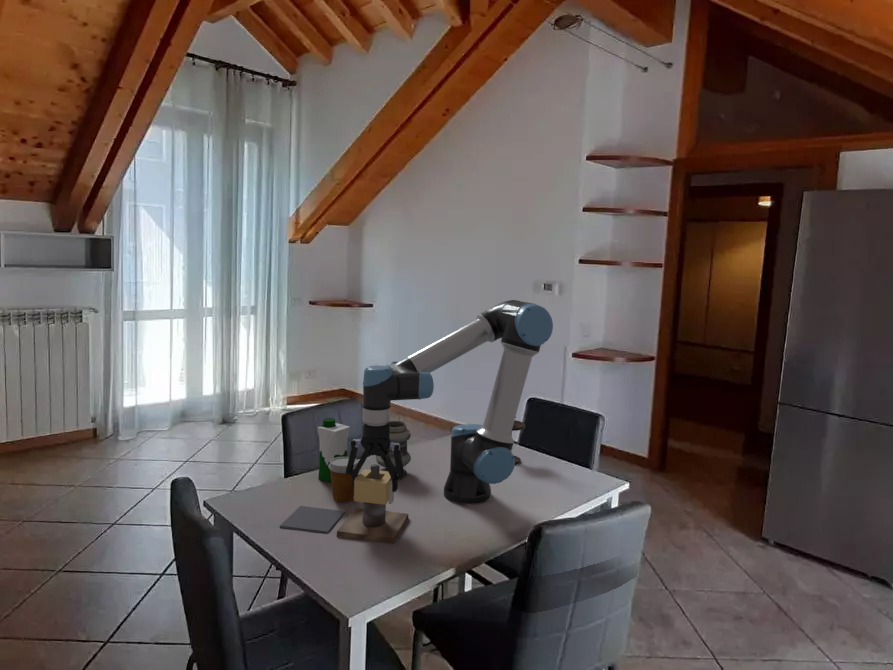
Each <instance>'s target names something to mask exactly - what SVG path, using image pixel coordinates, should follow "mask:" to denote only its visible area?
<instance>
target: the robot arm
mask: <svg viewBox="0 0 893 670" xmlns="http://www.w3.org/2000/svg"><path fill="white" fill-rule="evenodd" d="M553 322H554V321H553V319H552V316H551V314H550V312H549V311H548V310H547V309H546V308H545V307H544V306H541V305H539V304H537V303H533V302H527V301H521V300H517V299H510V300H506V301H505V300H504V301H503V302H500V303H498V304H496V305H494V306H492V307H490V308H488V309H486V310H485V311H482V312H480V313H478V314H477V315H476V318H475V320H473V321H471V322H469V323H468V324H465V325H464V326H462V327H460V328H459V329H457V330H455V331H453V332H451V333H449V334H448V335H446V336H444V337H442V338H440V339H439V340H436V341H435V342H433V343H430V344H429V345H427V346H425V347H424V348H422V349H420V350H418V351H416V352H414V353H413V354H411V355H408V356H407V357H405V358H403V359H401V360H399V361H389V362H388V363H386V364H385V365H377V364H376V365H369V366H367V367H365V368H364V372H363V380H362V381H363V382H362V393H363V394H362V401H363V404H362V425H361V426H362V430H361V431H362V433H361V434H362V435H361V436H362V437H361V439H358V438H355V437H354V438H353V439H352V440H351V441H350V452H349V453H350V454H349V456H348V457H349V460H348V464H347V468H346V474H350V475H351V476H352V487H354V480H355V479H356V478H357V477H358V476H359V475H360V474H359V473H360V471H361V469H362V467H363V466H364V464H365V462H366V460H367V459H368V457H369V456H375V457H376V456H381V459H382V460H383V461H384V463H385V466H386V467H385V468H387V470H388V472H389V474H390V476H391V480H390V481H389V501H388V505H392V503H393V502H394V501H395V493H396V492H397V490H398V488H399V487H398V486H399V485H398V484H399V480H403V478H404V477H406V476H405V473H404V470H405V468H404V467H403V463H402V458H401V453H400V447H401V444H400V443H399V442H398V443H392V442H391V441H390V423H389V421H391V402H392V401H406V400H419V401H420V400H426V399H429V398H431V397H432V395H433V393H434V388H435V387H434V386H435V382H434V379H433V375H432V373H433V372H434V371H436V370H438V369H440V368H441V367H443V366H445V365H447V364H450V362H453V361H455V360H456V359H458V358H460V357H461V356H463V355H465V354H467V353H470V352H471V351H472V350H474V349H476V348H478V347H479V346H482V345H483V344H485V343H487V342H490V343H493V342H496V341H497V340H500V339H501V340H500V344H501V346H502V348H503V352H502V355H501V360H500V363H499V367H498V370H497V373H496V377H495V381H494V385H493V388H492V391H491V396H490V399H489V403H488V407H487V410H486V414H485V417H484V420H483V424H477V423H476V424H475V423H473V424H472V423H467V424H466V423H464V424H457V425H455V426H454V427H453V428H452V429H451V435H450V463H449V464H450V468H449V473H448V476H447V478H446V481H445V484H444V486H443V496H444V498H446V499H447V500H448V501H450V502H452V503H456V504H461V505H462V504H463V505H478V504H483V503H486V502H488V501H489V500H490V499H491V497H492V488H491V485H490V484H493V485H496V484H499V483H502V482H504V481H505V480H507V479H508V478H509V477H510V476H511V475H512V473H513V472H514V469H515V467H516V465H515V459H514V456H515V455H514V454H513V452H512V450H513V447H514V444H515V441H514V438H513V436H511V431H512V428H513V424H514V420H516V418H517V412H518V409H519V406H520V402H521V398H522V395H523V390H524V388H525V383H526V381H527V377H528V373H529V369H530V368H531V367H530V366H531V362H532V359H533V357H534V356H536V355H537V354H539V353H540V349H541V346H542V345H544V344H545V343H546V342H549V339H550V338H551V336H552V334H553V329H554V324H553ZM515 417H516V418H515ZM512 432H513V431H512ZM360 446H361V447H362V448H363V449H364V451H363V453H362V454H361V457H360V459H359V460H358V464H357V466H356V468H355V469H353V466H354V462H355V459H357V453H358V449H359V447H360ZM389 447H391V448H392V451H394V459H395V464H396V469H397V472H396V470H395V467H394V465H393V463H392V461H391V459H390V456H389V453H388V450H387V449H388V448H389ZM513 455H514V456H513Z"/></svg>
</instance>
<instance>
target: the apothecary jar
mask: <svg viewBox="0 0 893 670" xmlns="http://www.w3.org/2000/svg"><path fill="white" fill-rule="evenodd" d="M389 423H390V441H391V442H392V443H398V442H399V443H400V444H401V447H400V453H401V458H402V463H403V468H404V467H405V466H407V465H408V464H409V463H410V462H411V459H412V458H411V454H410V452H409V451H408V441H409V440H410V439H411V436H412V435H411V432H410V430H409V429H408V428H407V424H406V422H405V421H401V420H390V421H389ZM387 450H388V453H389V456H390V459H391V461H392V463H393V465H394V467H395V470H396V472H397V469H396V464H395V459H394V451H392V448H391V447H389V448H388V449H387ZM375 461H376V462H377V463H376V464H378V465H380V467H383V468H381V469H380V470H379V471H388V470H387V468H386V466H385V463H384V461H383V460H382V459H381V456H376V455H375ZM404 473H405V476H404V477H406V476H407V474H408V472H407V470H406V469H404Z"/></svg>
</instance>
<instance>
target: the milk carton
mask: <svg viewBox="0 0 893 670" xmlns="http://www.w3.org/2000/svg"><path fill="white" fill-rule="evenodd" d="M322 421H323V422H322V425H320V426H318V427H317V432H318V433H317V434H318V439H319V465H318V480H321V481H325V482H328V483H330V484H332V482H331V473H330V469H329V464H330V461H331V460H332V459H334V458H337V457H348V439H349V435H350V434H349V433H350V431H351V429H350V428H351V427H350V426H349V425H345V424H343V423H342V424H341V423H337V422H336V419H335V418H332V417H329V418H328V417H327V418H324V419H323V420H322Z"/></svg>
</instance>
